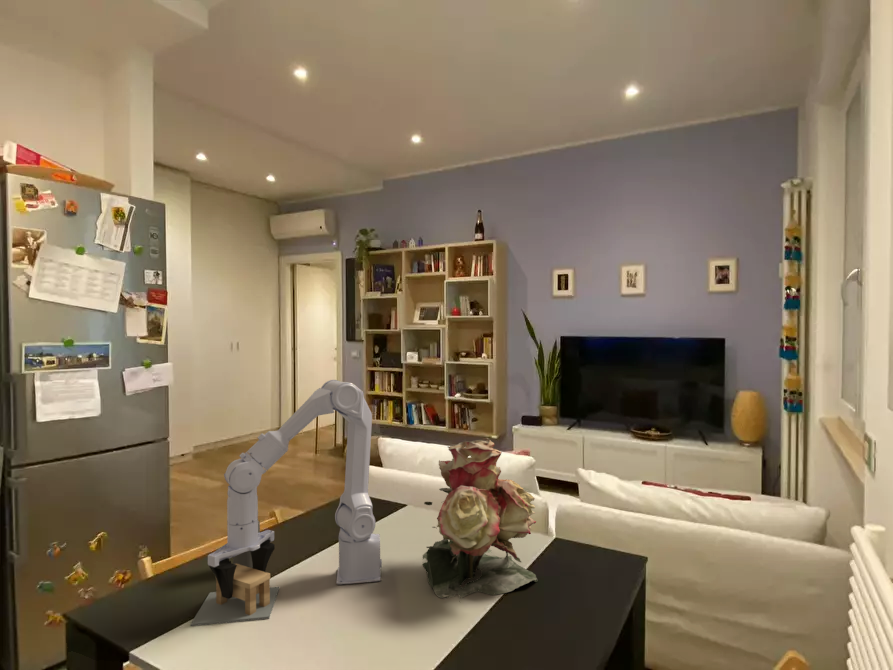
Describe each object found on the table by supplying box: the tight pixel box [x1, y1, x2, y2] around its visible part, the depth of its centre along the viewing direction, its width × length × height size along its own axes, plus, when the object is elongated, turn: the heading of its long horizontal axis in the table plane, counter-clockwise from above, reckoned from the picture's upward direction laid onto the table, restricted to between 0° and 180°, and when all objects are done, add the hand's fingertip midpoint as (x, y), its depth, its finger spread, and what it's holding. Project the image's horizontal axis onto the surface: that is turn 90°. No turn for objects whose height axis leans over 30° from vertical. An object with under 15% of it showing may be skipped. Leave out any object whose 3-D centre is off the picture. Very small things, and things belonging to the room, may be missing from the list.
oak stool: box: [214, 564, 271, 615], centre depth 102 cm, size 10×5×6 cm, turn 62°
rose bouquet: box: [422, 437, 539, 602], centre depth 117 cm, size 26×29×30 cm
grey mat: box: [190, 586, 280, 627], centre depth 102 cm, size 14×12×1 cm
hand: (243, 588), depth 102 cm, fingers open, 7 cm apart
